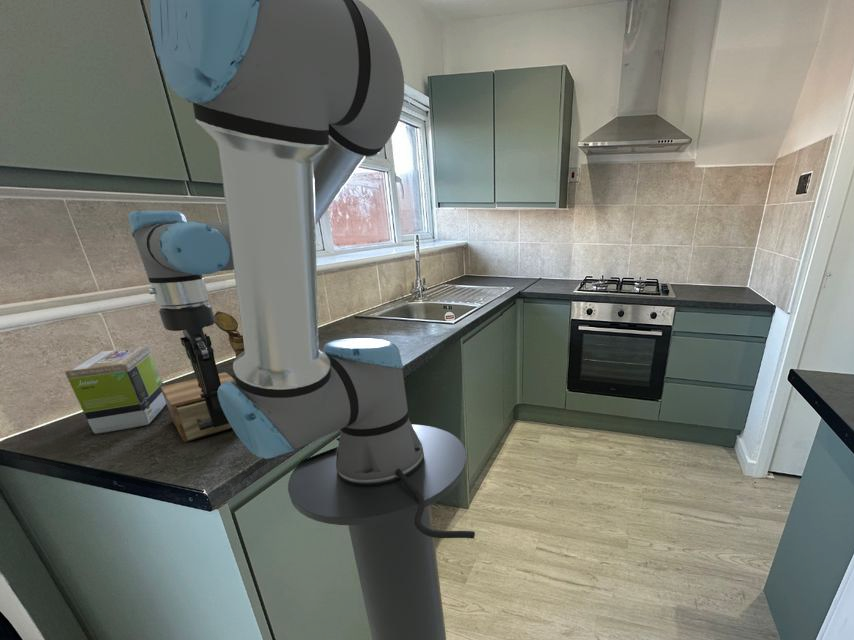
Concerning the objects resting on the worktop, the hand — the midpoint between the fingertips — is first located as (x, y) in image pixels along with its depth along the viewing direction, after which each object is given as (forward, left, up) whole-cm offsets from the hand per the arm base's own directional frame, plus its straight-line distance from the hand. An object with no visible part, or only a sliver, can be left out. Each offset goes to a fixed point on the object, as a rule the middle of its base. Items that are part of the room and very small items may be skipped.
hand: (221, 423), depth 82 cm
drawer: (+10, 0, -3) cm, 10 cm away
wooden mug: (+47, -16, -4) cm, 50 cm away
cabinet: (+14, 0, -4) cm, 14 cm away
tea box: (+31, +12, -4) cm, 33 cm away
